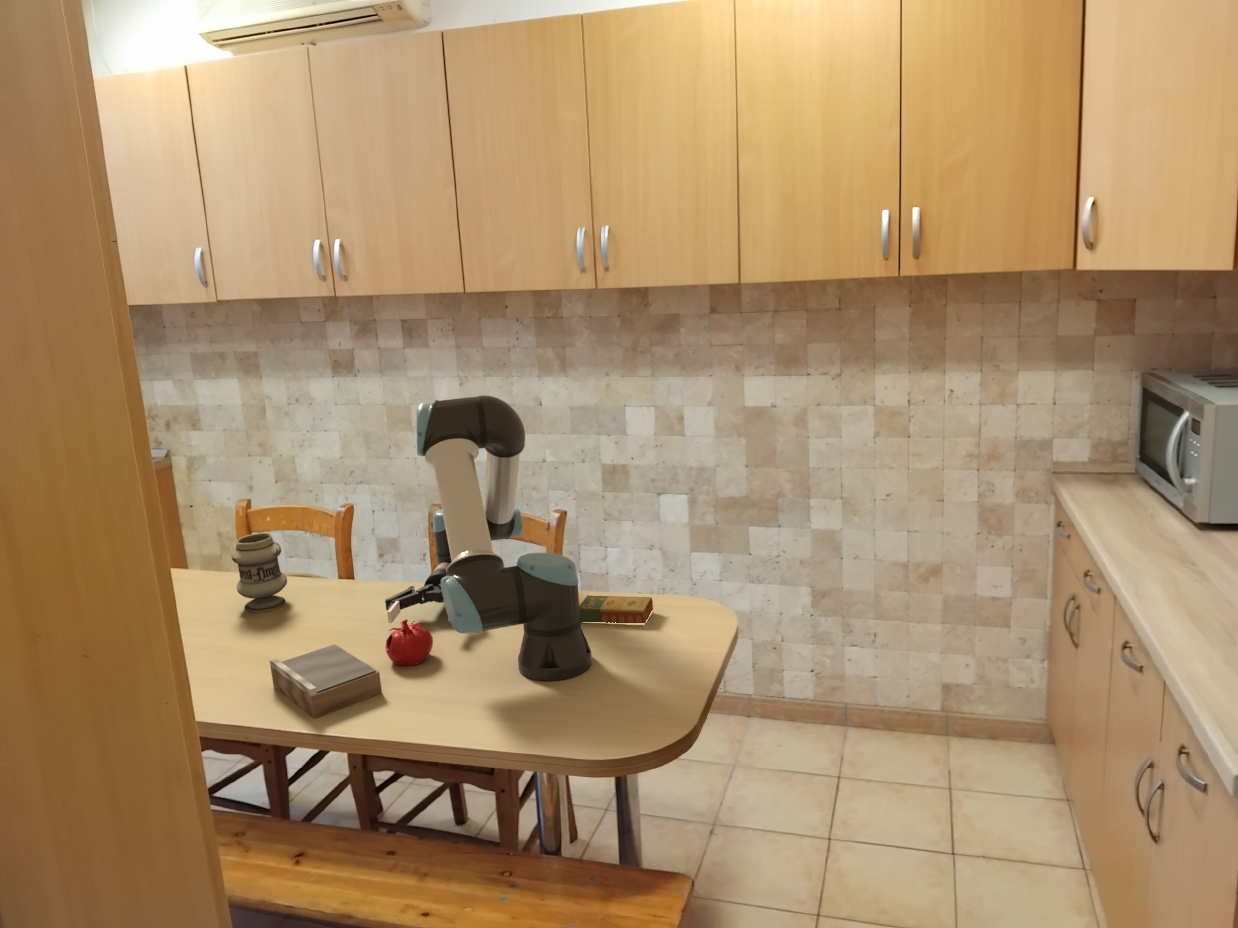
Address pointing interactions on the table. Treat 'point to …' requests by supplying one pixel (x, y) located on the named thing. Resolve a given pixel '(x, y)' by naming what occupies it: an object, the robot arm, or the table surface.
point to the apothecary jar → (259, 571)
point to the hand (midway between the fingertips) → (419, 616)
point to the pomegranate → (409, 644)
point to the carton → (615, 609)
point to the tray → (325, 680)
